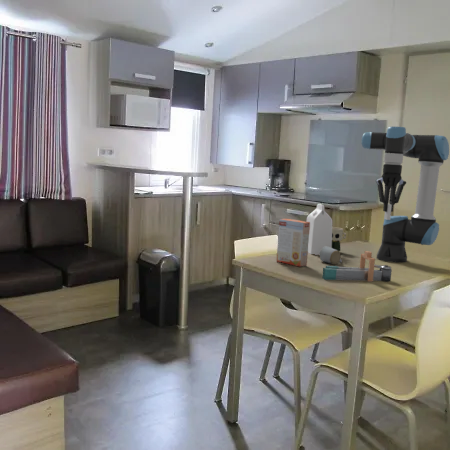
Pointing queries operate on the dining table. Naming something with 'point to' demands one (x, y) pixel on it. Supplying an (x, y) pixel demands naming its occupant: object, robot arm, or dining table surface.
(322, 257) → the ceramic mug
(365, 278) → the ball-hinged grey bar
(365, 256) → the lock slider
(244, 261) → the dining table surface
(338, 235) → the character mug
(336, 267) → the block
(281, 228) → the cracker box
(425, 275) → the dining table surface
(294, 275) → the dining table surface
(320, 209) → the milk
